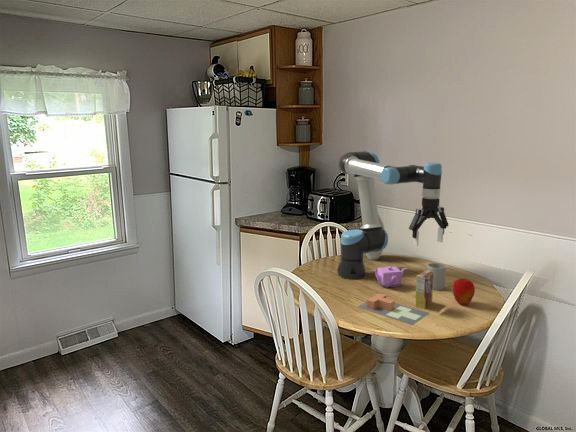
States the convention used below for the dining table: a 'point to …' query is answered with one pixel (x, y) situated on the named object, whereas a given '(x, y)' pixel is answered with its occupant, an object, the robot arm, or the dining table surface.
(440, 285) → the mug
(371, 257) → the vase
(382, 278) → the teapot
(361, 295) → the dining table surface
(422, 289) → the candy box
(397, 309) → the plate
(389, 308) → the t block
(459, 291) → the apple
